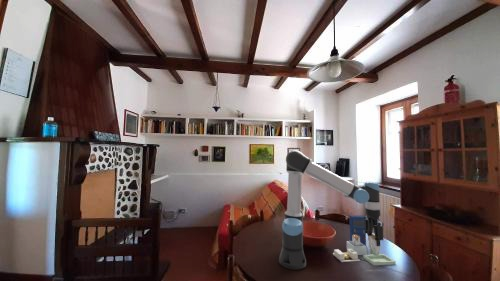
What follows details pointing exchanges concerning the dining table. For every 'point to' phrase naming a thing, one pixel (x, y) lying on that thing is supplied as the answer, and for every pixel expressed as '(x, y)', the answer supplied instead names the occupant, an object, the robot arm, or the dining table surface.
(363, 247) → the grey open box
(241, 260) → the dining table surface
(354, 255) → the cradle
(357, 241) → the cell
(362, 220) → the electronic device
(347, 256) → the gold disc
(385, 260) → the trough
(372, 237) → the cell
